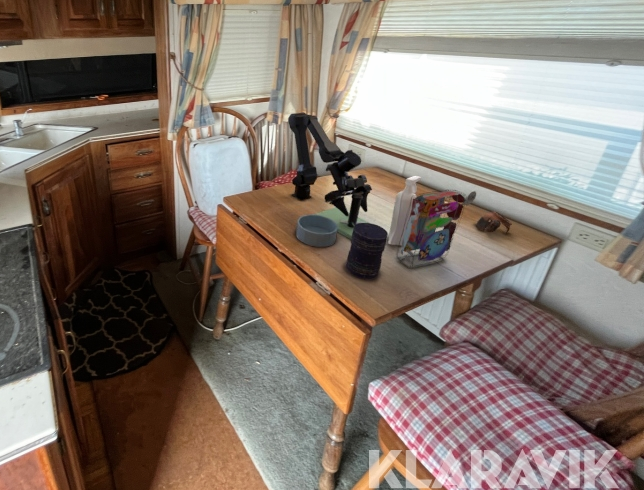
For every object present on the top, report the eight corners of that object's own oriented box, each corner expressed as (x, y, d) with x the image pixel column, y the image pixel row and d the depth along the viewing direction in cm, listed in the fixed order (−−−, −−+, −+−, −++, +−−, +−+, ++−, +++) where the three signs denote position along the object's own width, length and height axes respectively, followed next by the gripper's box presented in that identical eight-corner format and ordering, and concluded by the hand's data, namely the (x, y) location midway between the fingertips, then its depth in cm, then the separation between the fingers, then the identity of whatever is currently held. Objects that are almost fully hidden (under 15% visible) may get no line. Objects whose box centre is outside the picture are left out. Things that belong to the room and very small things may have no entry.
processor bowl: (288, 232, 138) (289, 220, 135) (315, 223, 144) (316, 211, 142) (315, 251, 126) (317, 238, 124) (343, 240, 132) (346, 227, 130)
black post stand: (337, 227, 138) (342, 197, 133) (342, 218, 144) (347, 189, 139) (361, 234, 133) (368, 203, 128) (365, 224, 140) (372, 194, 135)
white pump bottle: (378, 243, 130) (392, 180, 121) (394, 232, 137) (409, 172, 127) (396, 251, 125) (413, 187, 116) (413, 240, 132) (430, 178, 122)
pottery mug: (473, 221, 145) (490, 207, 141) (495, 238, 141) (514, 224, 137) (473, 227, 135) (492, 211, 132) (498, 245, 131) (518, 229, 128)
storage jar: (355, 257, 123) (365, 211, 116) (384, 271, 115) (396, 223, 108) (339, 268, 117) (348, 220, 110) (368, 284, 110) (380, 234, 103)
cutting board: (313, 217, 148) (313, 214, 148) (336, 209, 154) (337, 206, 154) (353, 240, 132) (354, 237, 131) (378, 231, 138) (378, 227, 137)
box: (449, 246, 128) (469, 184, 119) (466, 255, 123) (488, 191, 113) (394, 259, 121) (411, 194, 112) (409, 270, 116) (428, 203, 106)
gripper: (334, 171, 130) (351, 211, 125) (373, 164, 136) (391, 202, 131) (317, 183, 140) (332, 220, 135) (354, 176, 146) (370, 212, 141)
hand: (357, 213), depth 135 cm, fingers open, 9 cm apart
